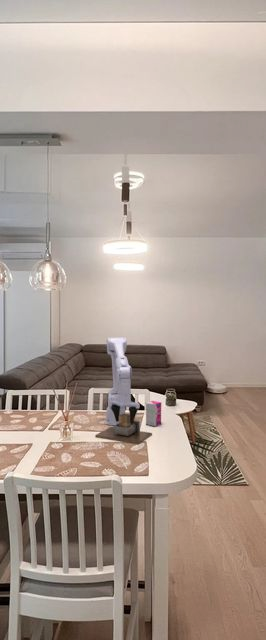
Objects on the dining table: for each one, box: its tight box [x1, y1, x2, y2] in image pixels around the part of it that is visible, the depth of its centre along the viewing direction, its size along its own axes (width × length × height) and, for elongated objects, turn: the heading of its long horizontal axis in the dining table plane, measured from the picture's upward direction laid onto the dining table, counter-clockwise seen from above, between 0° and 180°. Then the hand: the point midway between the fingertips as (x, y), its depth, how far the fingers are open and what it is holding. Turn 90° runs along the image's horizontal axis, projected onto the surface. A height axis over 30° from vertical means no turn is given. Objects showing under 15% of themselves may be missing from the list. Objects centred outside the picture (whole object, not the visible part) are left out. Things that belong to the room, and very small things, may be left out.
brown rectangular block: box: [119, 413, 131, 427], centre depth 176 cm, size 4×4×7 cm
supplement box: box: [145, 400, 162, 428], centre depth 193 cm, size 6×6×12 cm
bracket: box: [94, 419, 153, 445], centre depth 176 cm, size 22×14×6 cm, turn 62°
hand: (124, 422), depth 176 cm, fingers open, 7 cm apart
